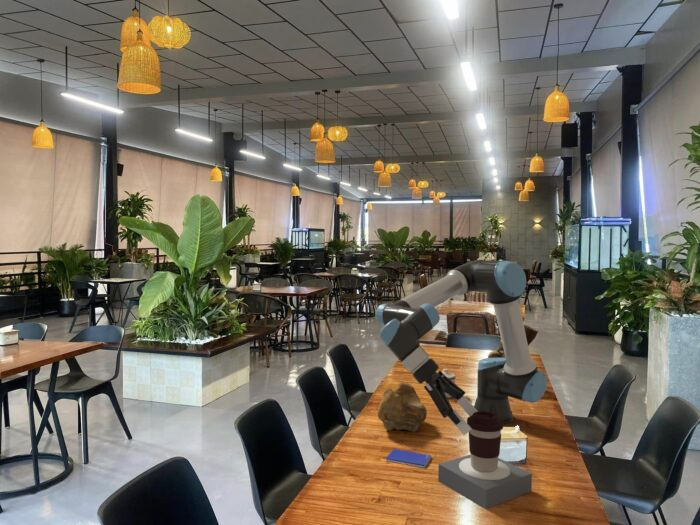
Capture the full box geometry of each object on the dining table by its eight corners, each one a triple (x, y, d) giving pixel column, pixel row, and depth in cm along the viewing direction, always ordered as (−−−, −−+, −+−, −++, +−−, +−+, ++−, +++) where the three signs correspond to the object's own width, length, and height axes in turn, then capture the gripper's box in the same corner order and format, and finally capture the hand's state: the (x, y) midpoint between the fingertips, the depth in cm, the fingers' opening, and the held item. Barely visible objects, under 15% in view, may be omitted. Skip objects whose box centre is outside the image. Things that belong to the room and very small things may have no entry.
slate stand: (482, 466, 160) (482, 449, 160) (531, 491, 145) (531, 472, 145) (438, 481, 151) (438, 463, 150) (485, 508, 135) (486, 488, 135)
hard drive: (431, 454, 167) (394, 448, 171) (424, 464, 159) (385, 457, 164) (431, 459, 167) (394, 452, 172) (424, 469, 159) (385, 462, 164)
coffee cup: (459, 466, 148) (460, 414, 147) (478, 456, 155) (479, 406, 154) (490, 478, 141) (491, 423, 140) (508, 467, 148) (510, 415, 147)
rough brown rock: (413, 444, 179) (418, 401, 178) (369, 431, 187) (374, 390, 186) (435, 425, 200) (439, 386, 199) (394, 414, 207) (398, 377, 206)
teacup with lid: (457, 394, 234) (458, 368, 233) (451, 399, 226) (452, 373, 225) (432, 390, 239) (432, 365, 239) (425, 395, 231) (425, 369, 231)
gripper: (422, 363, 165) (469, 417, 161) (399, 384, 142) (453, 447, 137) (439, 348, 163) (487, 402, 158) (418, 367, 140) (474, 431, 135)
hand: (472, 423), depth 148 cm, fingers open, 13 cm apart
